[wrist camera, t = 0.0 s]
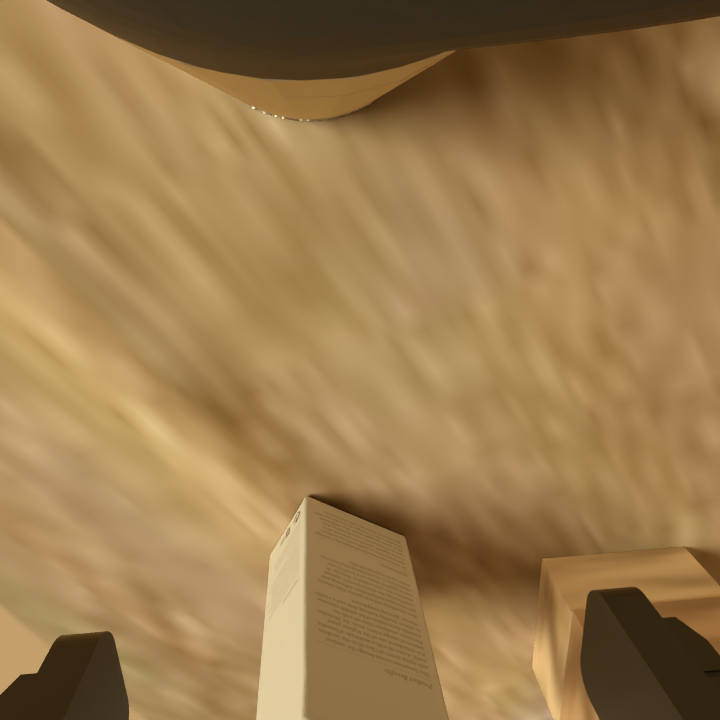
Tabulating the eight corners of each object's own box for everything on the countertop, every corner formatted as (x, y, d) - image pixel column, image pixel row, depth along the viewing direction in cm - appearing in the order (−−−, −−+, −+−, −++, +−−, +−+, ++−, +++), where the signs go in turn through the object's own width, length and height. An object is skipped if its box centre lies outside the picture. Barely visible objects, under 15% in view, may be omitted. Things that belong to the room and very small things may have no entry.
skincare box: (267, 555, 30) (241, 802, 19) (305, 492, 29) (301, 717, 18) (369, 594, 31) (401, 846, 20) (409, 535, 30) (466, 769, 19)
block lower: (540, 555, 32) (571, 611, 28) (681, 543, 32) (729, 596, 28) (530, 664, 35) (557, 727, 31) (660, 651, 35) (701, 712, 31)
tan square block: (572, 609, 28) (612, 682, 24) (731, 595, 28) (795, 664, 25) (558, 726, 31) (592, 807, 27) (703, 711, 31) (755, 789, 28)
